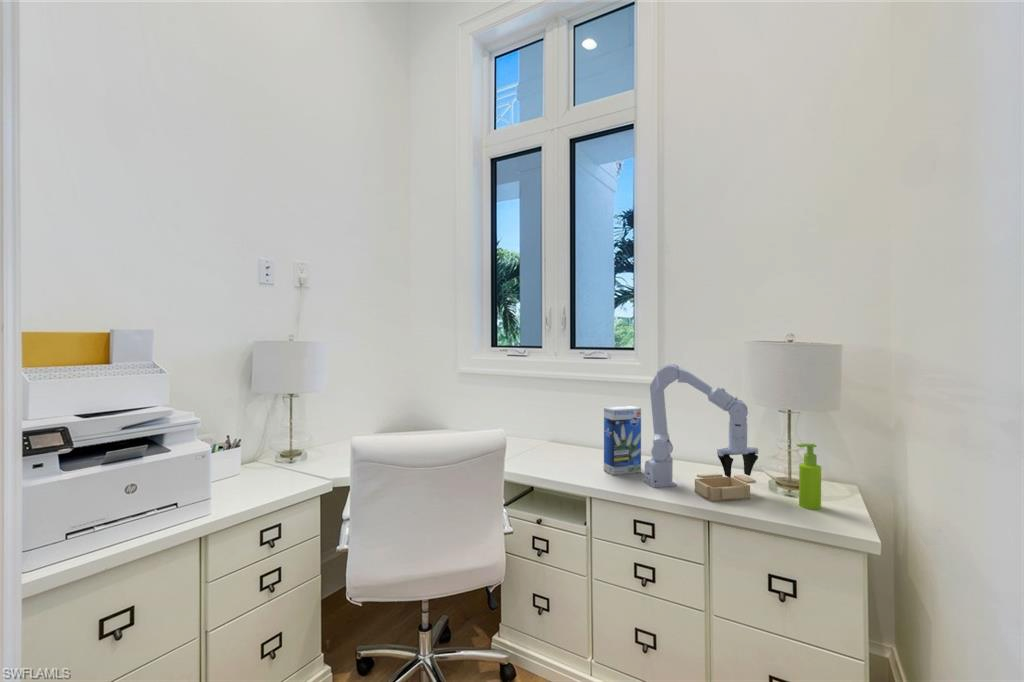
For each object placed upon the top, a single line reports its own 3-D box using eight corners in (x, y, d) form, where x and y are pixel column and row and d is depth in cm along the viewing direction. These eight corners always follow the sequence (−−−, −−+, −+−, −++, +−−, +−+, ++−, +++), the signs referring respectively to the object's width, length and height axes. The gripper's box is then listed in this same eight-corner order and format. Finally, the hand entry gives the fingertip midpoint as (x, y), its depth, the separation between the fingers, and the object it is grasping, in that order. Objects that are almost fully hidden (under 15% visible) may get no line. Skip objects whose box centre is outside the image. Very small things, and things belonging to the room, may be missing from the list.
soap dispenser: (791, 502, 150) (792, 441, 150) (813, 503, 150) (813, 441, 149) (802, 509, 144) (803, 446, 144) (825, 509, 144) (825, 446, 143)
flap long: (702, 475, 161) (696, 474, 165) (702, 478, 161) (697, 477, 164) (722, 474, 163) (716, 473, 166) (722, 476, 163) (716, 475, 166)
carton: (711, 503, 150) (711, 489, 150) (692, 492, 160) (692, 478, 160) (752, 500, 152) (752, 486, 152) (730, 489, 163) (730, 476, 163)
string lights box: (612, 475, 179) (612, 409, 179) (602, 470, 186) (602, 406, 186) (641, 472, 183) (641, 407, 183) (631, 467, 191) (631, 405, 190)
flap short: (746, 481, 155) (755, 480, 156) (733, 475, 162) (742, 474, 162) (746, 483, 155) (755, 483, 156) (733, 477, 162) (742, 477, 162)
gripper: (726, 439, 153) (726, 480, 153) (764, 437, 155) (764, 477, 156) (713, 435, 160) (713, 474, 160) (750, 433, 162) (749, 471, 163)
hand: (737, 475), depth 158 cm, fingers open, 7 cm apart
